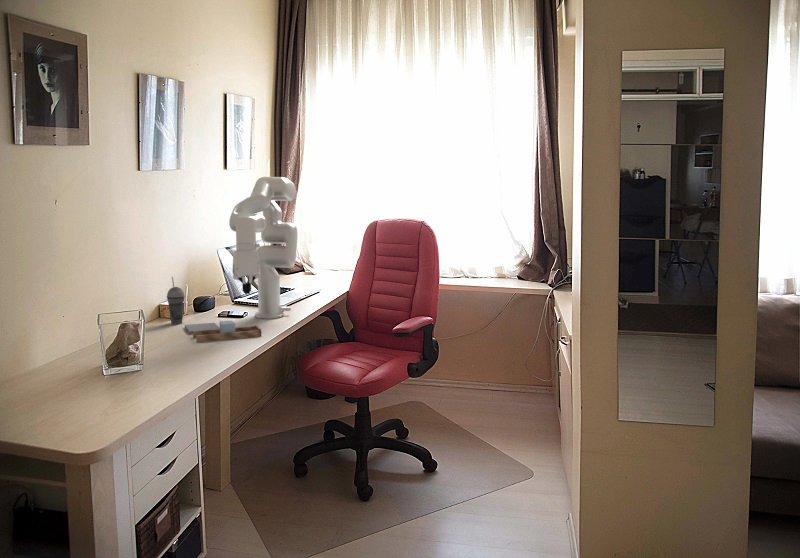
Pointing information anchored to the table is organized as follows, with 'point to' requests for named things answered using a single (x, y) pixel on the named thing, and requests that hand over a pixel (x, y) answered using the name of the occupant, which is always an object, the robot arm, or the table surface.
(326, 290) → the table surface
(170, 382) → the table surface
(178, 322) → the beverage cup
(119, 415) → the table surface
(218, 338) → the channel
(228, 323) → the block
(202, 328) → the pad
